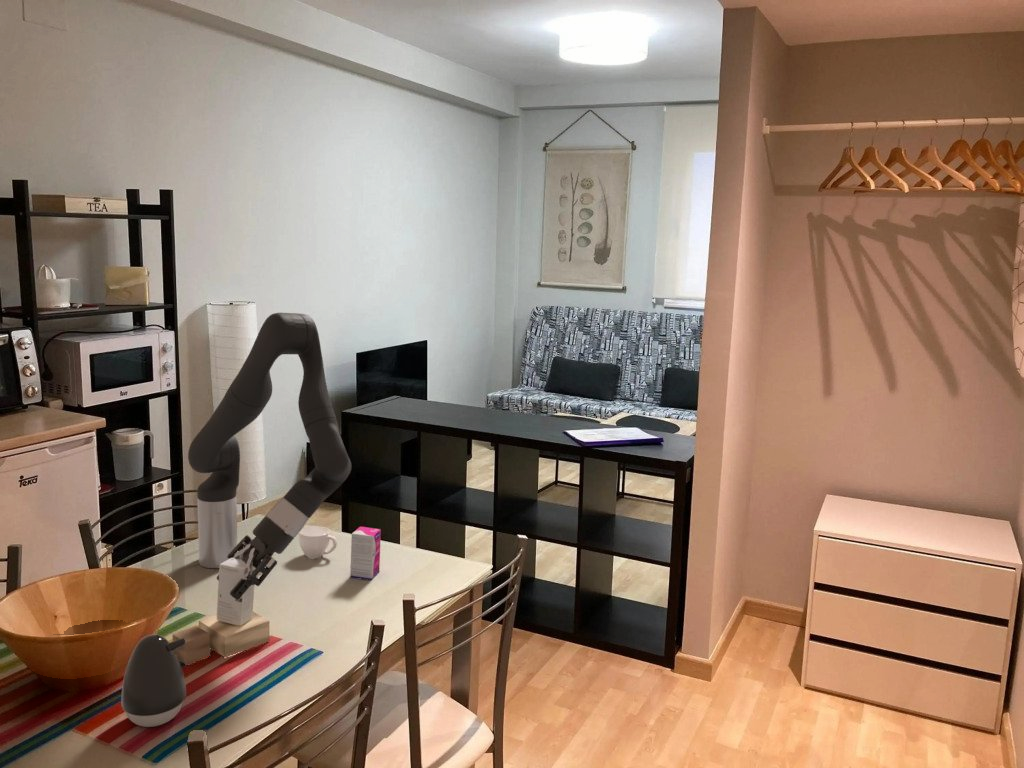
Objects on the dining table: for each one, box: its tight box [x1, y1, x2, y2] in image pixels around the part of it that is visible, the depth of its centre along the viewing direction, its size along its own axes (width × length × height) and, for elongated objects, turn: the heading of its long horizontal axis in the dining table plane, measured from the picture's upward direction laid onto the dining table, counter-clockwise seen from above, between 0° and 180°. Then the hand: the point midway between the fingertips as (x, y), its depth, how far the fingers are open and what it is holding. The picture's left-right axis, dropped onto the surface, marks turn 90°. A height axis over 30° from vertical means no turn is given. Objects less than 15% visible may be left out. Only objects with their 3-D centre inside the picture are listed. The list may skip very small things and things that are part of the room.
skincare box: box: [216, 558, 255, 626], centre depth 170 cm, size 6×4×12 cm
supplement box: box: [349, 526, 382, 581], centre depth 206 cm, size 6×6×12 cm
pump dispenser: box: [120, 633, 187, 728], centre depth 142 cm, size 10×10×15 cm
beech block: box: [198, 611, 271, 657], centre depth 171 cm, size 10×10×5 cm
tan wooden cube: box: [171, 625, 211, 665], centre depth 164 cm, size 5×5×5 cm
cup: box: [298, 525, 338, 559], centre depth 217 cm, size 8×10×7 cm
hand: (226, 589), depth 168 cm, fingers open, 8 cm apart
